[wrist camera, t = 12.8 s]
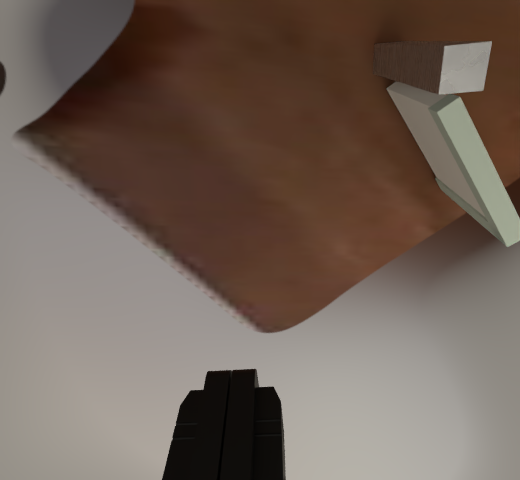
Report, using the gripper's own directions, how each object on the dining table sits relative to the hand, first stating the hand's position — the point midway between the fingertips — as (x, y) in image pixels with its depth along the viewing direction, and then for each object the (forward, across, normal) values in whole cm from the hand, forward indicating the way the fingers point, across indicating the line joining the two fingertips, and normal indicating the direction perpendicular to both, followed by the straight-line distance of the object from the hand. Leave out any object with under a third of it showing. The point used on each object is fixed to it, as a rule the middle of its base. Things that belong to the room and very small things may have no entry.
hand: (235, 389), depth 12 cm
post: (+32, -13, -7) cm, 35 cm away
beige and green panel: (+31, -17, +1) cm, 35 cm away
